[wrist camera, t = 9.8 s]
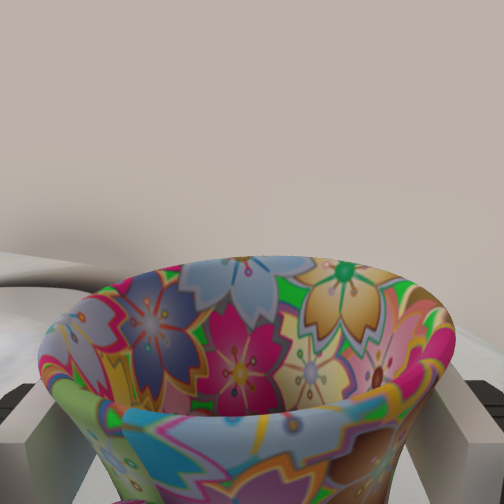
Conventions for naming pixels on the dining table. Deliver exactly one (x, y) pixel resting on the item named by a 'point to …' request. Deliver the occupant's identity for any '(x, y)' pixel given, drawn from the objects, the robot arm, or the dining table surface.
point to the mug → (250, 379)
